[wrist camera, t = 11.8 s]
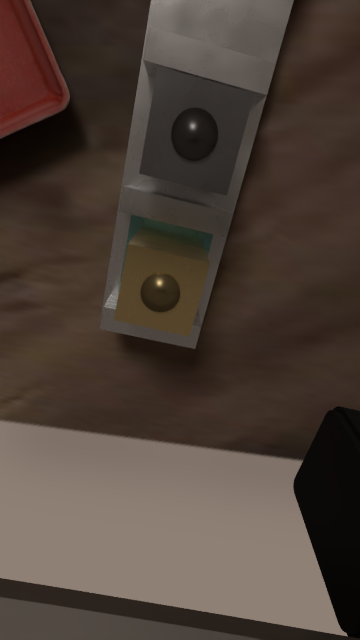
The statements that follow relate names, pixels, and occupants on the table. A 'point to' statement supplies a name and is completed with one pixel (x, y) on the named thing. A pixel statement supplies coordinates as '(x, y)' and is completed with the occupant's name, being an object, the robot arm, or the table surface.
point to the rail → (137, 189)
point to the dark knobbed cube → (194, 131)
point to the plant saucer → (27, 70)
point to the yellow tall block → (162, 281)
